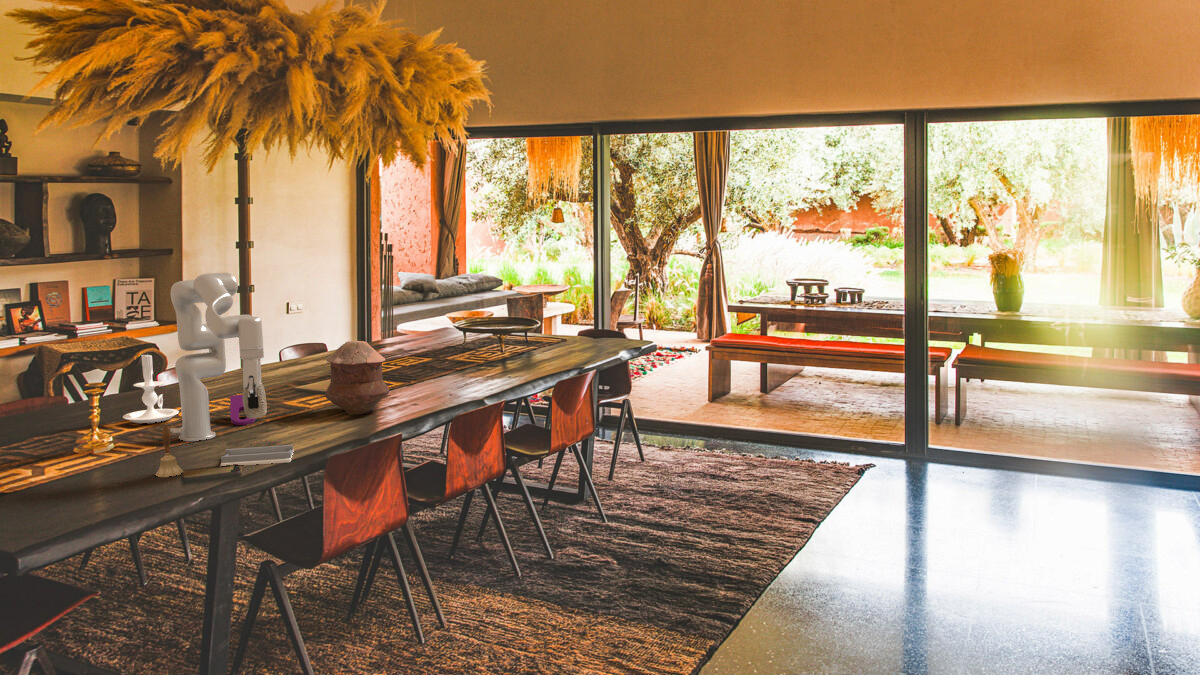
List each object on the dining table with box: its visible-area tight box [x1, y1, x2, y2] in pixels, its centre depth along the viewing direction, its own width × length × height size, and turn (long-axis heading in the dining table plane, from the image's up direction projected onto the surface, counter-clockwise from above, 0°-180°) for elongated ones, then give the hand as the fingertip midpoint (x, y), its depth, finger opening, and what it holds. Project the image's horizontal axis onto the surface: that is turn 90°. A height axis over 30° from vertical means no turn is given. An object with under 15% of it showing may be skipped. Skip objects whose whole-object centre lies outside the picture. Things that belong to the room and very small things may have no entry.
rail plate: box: [220, 444, 295, 467], centre depth 319 cm, size 22×14×3 cm, turn 103°
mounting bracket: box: [229, 394, 257, 426], centre depth 378 cm, size 9×8×18 cm
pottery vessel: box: [324, 340, 390, 415], centre depth 391 cm, size 26×26×30 cm
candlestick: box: [122, 354, 180, 424], centre depth 379 cm, size 21×25×28 cm
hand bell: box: [155, 424, 184, 478], centre depth 301 cm, size 8×8×16 cm
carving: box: [242, 382, 268, 419], centre depth 316 cm, size 6×8×12 cm
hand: (254, 405), depth 316 cm, fingers closed on carving, 6 cm apart
